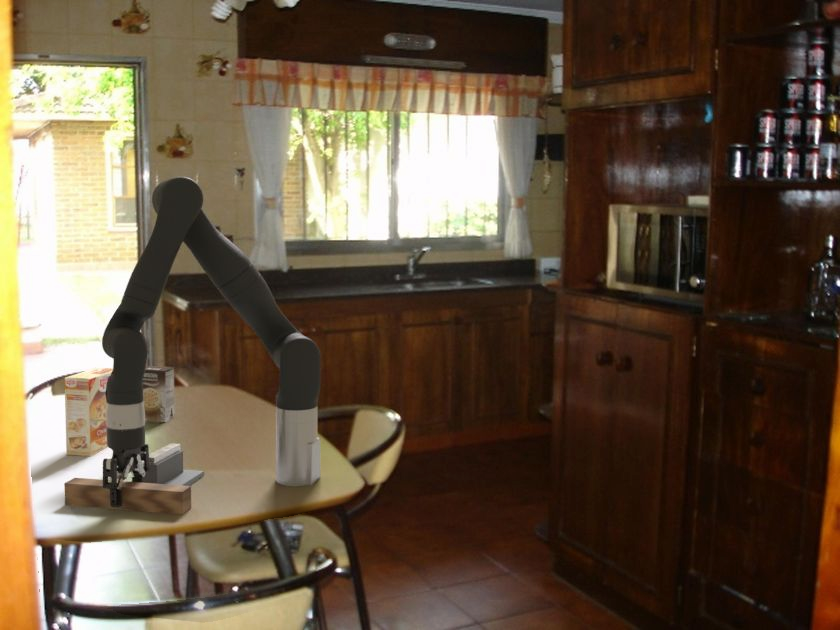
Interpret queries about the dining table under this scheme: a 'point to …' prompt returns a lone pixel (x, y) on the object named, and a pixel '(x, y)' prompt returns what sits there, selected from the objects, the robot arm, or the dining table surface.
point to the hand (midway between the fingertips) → (127, 500)
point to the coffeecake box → (86, 412)
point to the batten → (129, 496)
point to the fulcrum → (169, 467)
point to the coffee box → (158, 393)
